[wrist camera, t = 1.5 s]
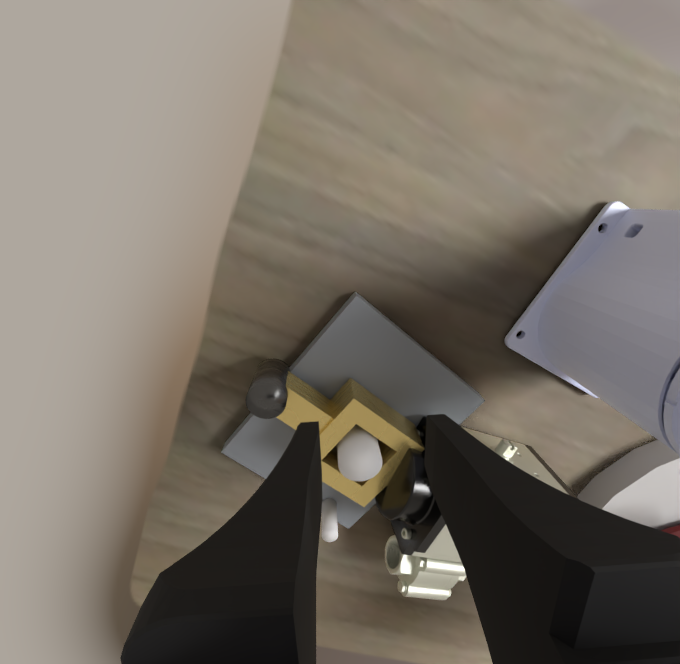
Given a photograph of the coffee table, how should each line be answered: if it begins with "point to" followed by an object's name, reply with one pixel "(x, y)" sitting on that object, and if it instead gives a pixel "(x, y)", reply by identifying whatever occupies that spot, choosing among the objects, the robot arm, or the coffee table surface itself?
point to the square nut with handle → (334, 423)
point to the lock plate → (374, 375)
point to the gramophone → (640, 487)
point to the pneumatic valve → (437, 518)
